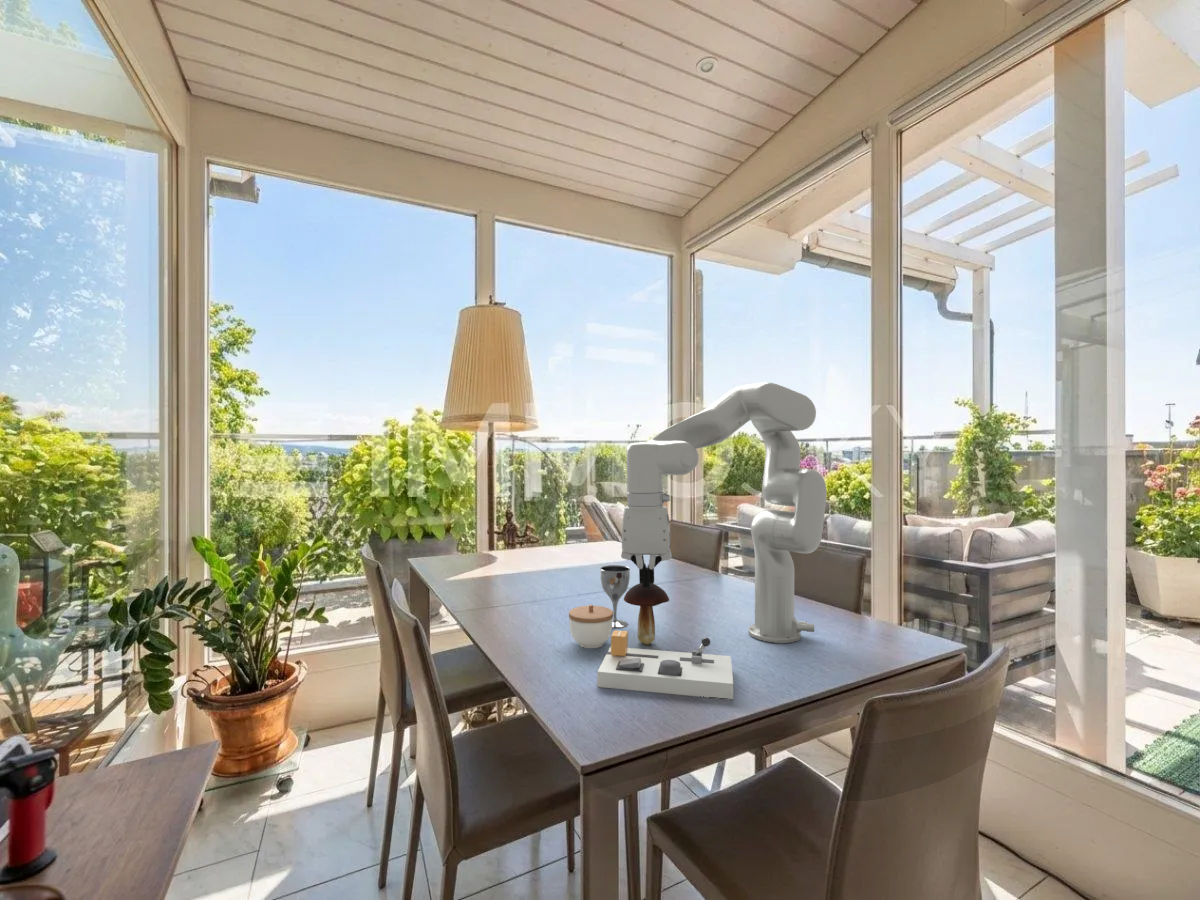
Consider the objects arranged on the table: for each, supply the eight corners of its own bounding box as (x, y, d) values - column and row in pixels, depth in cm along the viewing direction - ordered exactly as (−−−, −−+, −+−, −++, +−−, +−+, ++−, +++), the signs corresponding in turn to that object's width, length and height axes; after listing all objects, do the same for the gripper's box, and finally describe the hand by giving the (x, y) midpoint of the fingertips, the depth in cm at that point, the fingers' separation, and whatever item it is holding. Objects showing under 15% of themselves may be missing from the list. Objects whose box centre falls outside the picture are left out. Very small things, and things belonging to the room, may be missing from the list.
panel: (730, 670, 115) (730, 648, 115) (733, 699, 101) (733, 675, 101) (610, 660, 120) (610, 639, 120) (597, 686, 106) (597, 663, 106)
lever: (700, 658, 113) (712, 639, 113) (699, 662, 111) (712, 642, 111) (692, 653, 113) (704, 634, 113) (692, 657, 112) (704, 637, 111)
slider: (627, 649, 117) (627, 631, 117) (625, 655, 114) (625, 636, 114) (614, 648, 118) (614, 630, 118) (611, 654, 114) (611, 635, 114)
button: (680, 679, 109) (681, 660, 109) (679, 688, 105) (679, 668, 105) (661, 677, 109) (661, 659, 109) (659, 686, 105) (659, 666, 105)
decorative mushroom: (638, 655, 123) (638, 589, 123) (615, 640, 133) (615, 579, 133) (678, 647, 128) (678, 584, 128) (652, 633, 138) (653, 574, 138)
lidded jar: (560, 641, 132) (560, 603, 132) (596, 633, 138) (596, 596, 138) (584, 655, 123) (584, 614, 123) (622, 646, 129) (622, 606, 129)
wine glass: (630, 629, 141) (630, 571, 141) (599, 628, 141) (600, 571, 141) (629, 619, 149) (629, 565, 149) (600, 619, 149) (600, 565, 149)
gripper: (681, 498, 117) (683, 583, 117) (613, 498, 120) (615, 581, 120) (679, 502, 110) (681, 592, 110) (607, 502, 113) (609, 590, 113)
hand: (647, 586), depth 115 cm, fingers closed
